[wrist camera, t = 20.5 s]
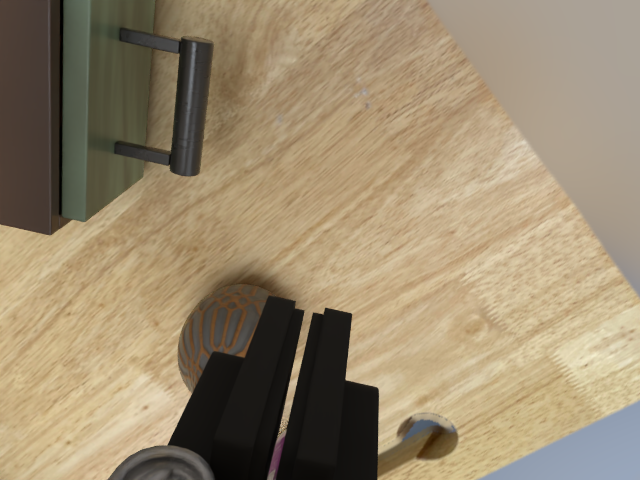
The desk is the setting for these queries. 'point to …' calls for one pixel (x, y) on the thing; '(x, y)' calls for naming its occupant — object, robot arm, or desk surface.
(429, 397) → the desk surface
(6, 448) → the desk surface
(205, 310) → the vase
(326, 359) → the robot arm
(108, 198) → the drawer
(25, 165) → the cabinet
